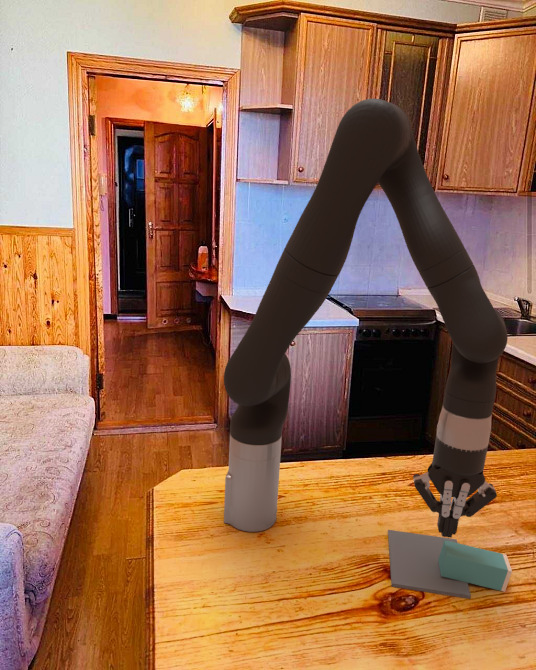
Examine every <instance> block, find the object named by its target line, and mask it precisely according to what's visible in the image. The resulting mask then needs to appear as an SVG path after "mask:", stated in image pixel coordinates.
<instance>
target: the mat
mask: <svg viewBox="0 0 536 670" xmlns="http://www.w3.org/2000/svg"><path fill="white" fill-rule="evenodd" d="M387 538H388V539H387V541H388V551H389V552H388V553H389V554H388V555H389V556H388V557H389V567H390V571H389V572H390V582H391V583H390V585H391V588H392V587H393V588H398V589H399V588H400V589H404V590H405V589H406V590H412V591H418V592H425V593H431V594H436V595H437V594H438V595H442V596H450V597H458V598H461V599H462V598H463V599H469V600H470V599H471V591H470V587H469V583H467V582H463V581H459V580H455V579H451V578H447V577H443V576H441V572H440V567H439V561H438V559H439V556H440V553H441V549H442V546H443V543H444V540H446V541H451V542H455V543H458V540H457V538H456V539H455V538H452V537H451V538H450V537H443V536H436V535H429V534H422V533H414V532H407V531H402V530H401V531H400V530H393V529H388V530H387Z"/></svg>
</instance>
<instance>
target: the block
mask: <svg viewBox="0 0 536 670" xmlns="http://www.w3.org/2000/svg"><path fill="white" fill-rule="evenodd" d="M438 561H439V567H440V572H441V576H443V577H447V578H451V579H455V580H459V581H463V582H467V583H468V584H472V585H476V586H480V587H483V588H488V589H493V590H496V591H500V592H504V593H505V592H506V590H507V586H508V584H509V582H510V581H509V580H510V579H511V575H512V573H513V570H512V567H511V564H510V561H509V559H508V556H507V554H505V553H501V552H496V551H492V550H488V549H483V548H480V547H475V546H471V545H466V544H464V543H463V544H462V543H459V542H457V543H455V542H451V541H446V540H444V543H443V546H442V549H441V553H440V556H439V559H438Z"/></svg>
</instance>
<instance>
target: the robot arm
mask: <svg viewBox="0 0 536 670" xmlns="http://www.w3.org/2000/svg"><path fill="white" fill-rule="evenodd" d="M411 126H412V125H411V122H410V119H409V117H408V115H407V114H406V113H405V111H404V110H403V109H402V108H401V107H399V106H398V105H396V104H395V103H392V102H390V101H386V100H384V99H381V98H368V99H367V98H366V99H363V100H361V101H359V102H357V103H355V104H354V105H352V106H351V107H350V108H349V109H348V110H347V111H346V112H345V113H344V115H343V116H342V118H341V119H340V122H339V123H338V126H337V129H336V131H335V134H334V136H333V140H332V141H331V142H332V143H331V145H330V148H329V151H328V154H327V156H326V157H327V158H326V160H325V162H324V166H323V169H322V171H321V174H320V177H319V179H318V182H317V184H316V186H315V189H314V191H313V192H312V195H311V197H310V198H309V200H308V203H307V204H306V206H305V207H304V210H303V211H302V212H301V215H300V217H299V219H298V221H297V223H296V225H295V227H294V229H293V231H292V233H291V235H290V237H289V239H288V241H287V242H286V245H285V247H284V249H283V251H282V253H281V255H280V257H279V259H278V261H277V264H276V266H275V268H274V271H273V273H272V275H271V278H270V280H269V283H268V285H267V286H266V289H265V291H264V294H263V296H262V298H261V300H260V302H259V304H258V307H257V310H256V312H255V314H254V316H253V319H252V320H251V322H250V324H249V326H248V328H247V330H246V332H245V333H244V335H243V337H242V338H241V340H240V342H239V343H238V345H237V347H236V348H235V350H234V351H233V352H232V354H231V356H230V358H229V359H228V362H227V363H226V365H225V369H224V371H223V372H224V373H223V385H224V388H225V391H226V392H225V393H226V394H227V395H228V397H229V398H230V400H231V401H232V402H234V403H235V404H237V405H238V406H237V407H236V409H235V411H233V414H232V416H231V418H230V421H229V423H230V424H229V447H228V448H229V450H228V452H229V453H228V470H227V472H226V475H225V479H224V481H225V483H224V485H225V486H224V504H223V505H224V507H223V508H224V511H223V523H224V524H228V525H231V526H232V527H233V528H236V529H237V530H240V531H243V532H250V533H252V532H253V533H254V532H255V533H256V532H262V531H265V530H268V529H270V528H271V527H272V526H274V524H275V523H276V521H277V512H278V498H279V484H280V468H281V453H282V452H281V451H282V435H283V426H284V425H285V422H286V419H287V416H288V411H289V401H290V393H291V386H292V385H291V383H292V370H291V364H290V363H291V362H290V360H289V358H288V356H287V354H286V353H287V352H288V349H289V348H290V346H291V344H292V343H293V341H294V340H295V339H296V338H297V336H298V335H299V333H301V331H302V330H303V329H304V327H306V326H307V325H308V323H309V322H310V320H311V319H312V318H313V316H315V314H316V313H317V312H318V310H319V309H320V308H321V306H323V305H324V303H325V301H326V299H327V297H328V295H329V294H330V292H331V291H332V288H333V287H334V285H335V283H336V281H337V280H338V278H339V276H340V274H341V272H342V270H343V268H344V266H345V262H346V260H347V258H348V255H349V252H350V249H351V245H352V242H353V237H354V234H355V231H356V227H357V224H358V220H359V218H360V215H361V214H362V213H361V212H362V211H363V209H364V207H365V205H366V203H367V201H368V199H369V197H370V196H371V194H372V192H373V191H374V189H375V187H376V186H377V184H378V185H379V187H380V188H381V189H382V191H383V192H384V194H385V196H386V197H387V199H388V201H389V203H390V205H391V208H392V209H393V211H394V215H395V216H396V218H397V219H396V220H397V221H398V224H399V227H400V231H401V233H402V237H403V239H404V243H405V244H406V245H405V246H406V248H407V250H408V252H409V255H410V257H411V260H412V261H413V264H414V266H415V267H416V270H417V271H418V274H419V276H420V277H421V279H422V282H423V283H424V285H425V286H426V288H427V291H428V292H429V294H430V295H431V297H432V298H433V300H434V302H435V304H436V305H437V308H438V311H439V314H440V315H441V318H442V321H443V323H444V326H445V328H446V331H447V333H448V335H449V337H450V339H451V341H452V347H451V360H450V369H449V373H448V376H447V379H446V384H445V388H444V395H443V402H442V407H441V411H440V413H439V417H438V421H437V422H438V423H437V425H436V436H435V442H434V449H433V456H432V460H431V461H432V462H431V463H430V465H428V468H427V472H425V473H424V472H423V474H419V473H415V474H414V475H413V476H412V479H413V484H414V485H413V486H414V487H415V490H417V492H418V494H419V495H420V497H421V499H422V500H423V501H424V502H425V504H426V505H427V507H428V508H429V509H430V511H431V512H432V513H438V517H437V522H436V523H437V525H436V526H437V529H438V533H440V534H441V537H444V538H451V539H452V536H453V535H456V534H457V532H458V525H459V520H460V518H461V517H463V516H465V517H467V518H471V517H473V516H474V515H475V514H477V513H478V512H479V511H480V510H482V509H483V508H484V507H486V506H487V505H488V504H490V502H492V501H494V500H495V499H496V498H497V495H498V494H497V492H496V489H495V486H494V485H493V484H492V483H488V482H487V481H486V476H485V475H484V470H485V464H486V458H487V453H488V450H489V449H488V447H489V442H490V437H491V431H492V417H493V409H494V404H495V399H496V394H497V369H498V363H499V359H500V356H501V355H502V354H503V353H504V352H505V349H506V347H507V344H508V331H507V327H506V322H505V320H504V317H503V316H502V314H501V313H500V312H499V311H498V310H497V309H495V308H494V306H493V304H492V303H491V300H490V299H489V297H488V295H487V293H486V292H485V290H484V288H483V286H482V283H481V279H480V277H479V273H478V271H477V269H476V267H475V264H474V262H473V261H472V259H471V257H470V255H469V253H468V251H467V249H466V247H465V246H464V244H463V241H462V240H461V238H460V236H459V234H458V233H457V231H456V229H455V226H453V223H452V222H451V220H450V219H449V217H448V214H447V212H446V211H445V210H444V208H443V206H442V204H441V202H440V200H439V198H438V196H437V194H436V192H435V190H434V188H433V186H432V184H431V181H430V180H429V177H428V175H427V172H426V170H425V168H424V164H423V162H422V159H421V156H420V153H419V151H418V147H417V143H416V140H415V137H414V135H413V131H412V127H411ZM430 481H431V483H432V485H433V486H434V488H435V489H436V491H437V492H438V494H439V496H440V497H439V500H438V499H437V497H435V495H434V494H433V492H432V491H431V489H430V487H431V485H430Z"/></svg>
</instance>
